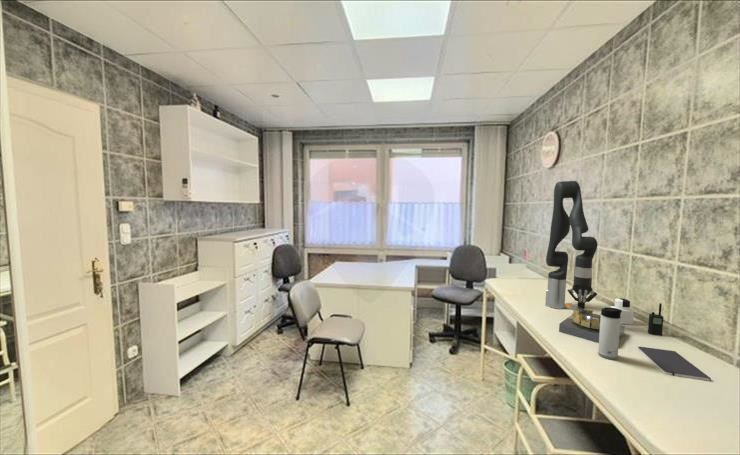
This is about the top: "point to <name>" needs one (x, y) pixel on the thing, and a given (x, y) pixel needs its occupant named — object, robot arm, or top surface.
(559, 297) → the robot arm
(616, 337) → the travel mug
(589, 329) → the domed button plate
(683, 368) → the notebook
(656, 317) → the walkie-talkie
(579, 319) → the segmented ring
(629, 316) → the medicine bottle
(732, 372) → the top surface
